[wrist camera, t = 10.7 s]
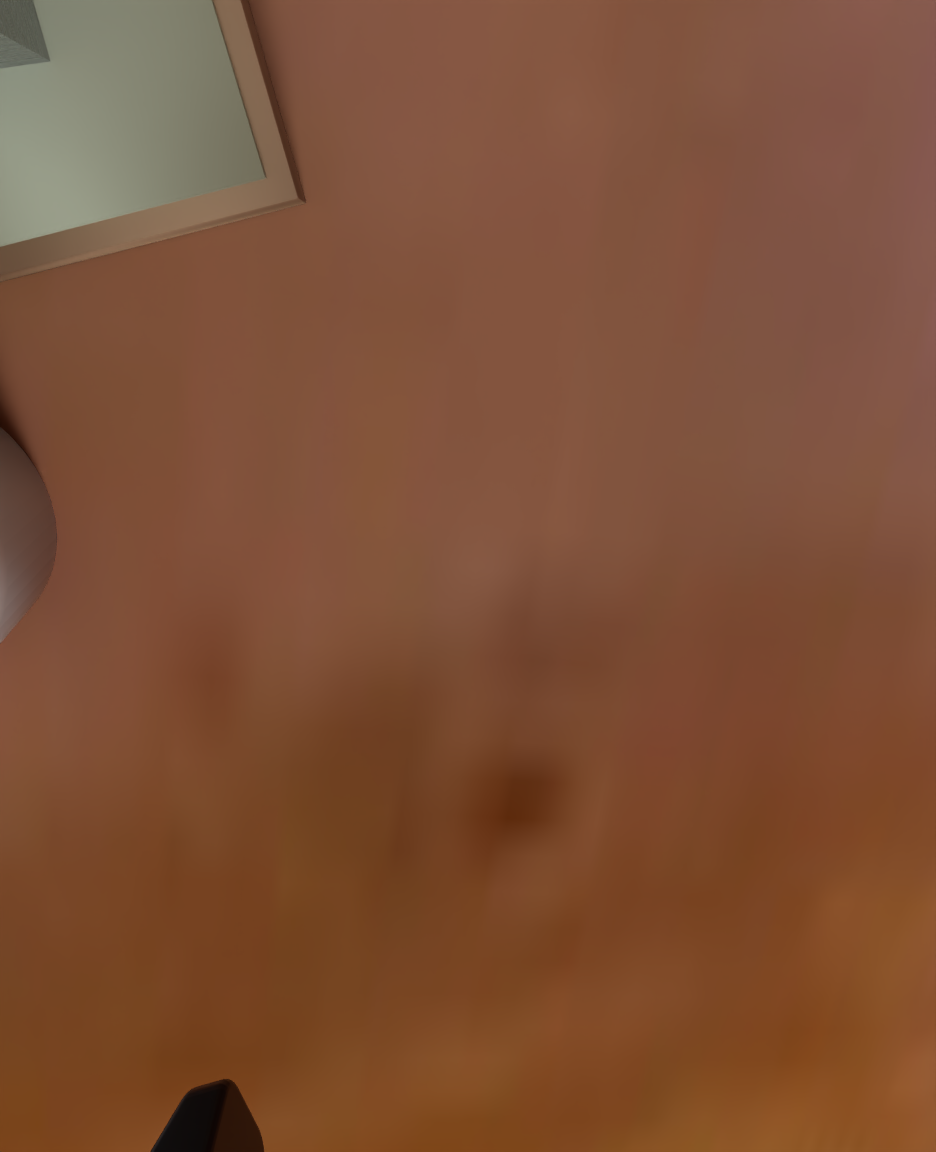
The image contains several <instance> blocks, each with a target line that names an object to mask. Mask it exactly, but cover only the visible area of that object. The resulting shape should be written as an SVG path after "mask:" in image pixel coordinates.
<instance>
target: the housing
mask: <svg viewBox="0 0 936 1152" xmlns="http://www.w3.org/2000/svg"><path fill="white" fill-rule="evenodd" d="M44 62H51V61H50V57H49V54H48V51H47V47H46V44H45V40H44V37H43V33H42V30H41V26H40V23H39V19H38V16H37V12H36V9H35V5H34V2H33V0H0V68H8V67H15V66H22V65H29V64H36V63H44Z"/></svg>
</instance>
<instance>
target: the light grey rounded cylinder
mask: <svg viewBox="0 0 936 1152" xmlns="http://www.w3.org/2000/svg"><path fill="white" fill-rule="evenodd" d="M56 546H57V531H56V520H55V515H54V511H53V507H52V502H51V500H50V497H49V495H48V492H47V489H46V487H45V484H44V482H43V481H42V479H41V477H40V475H39V473H38V471H37V469H36V468H35V466H34V465H33V463H32V462H31V460H30V459H29V458H28V456H27V455H26V453H25V452H24V451H23V450H22V448H21V447H20V446H19V445H18V444H17V443H16V442H15V441H14V440H13V438H12V437H11V436H10V435H9V434H8V433H6V432H5V431H4V430H3V429H2V428H1V427H0V643H1V642H2V641H3V640H4V639H5V637H6V636H7V635H8V634H9V633H10V632H11V630H12V629H13V628H14V627H15V626H16V625H17V623H18V622H19V621H20V620H21V619H22V618H23V616H24V615H25V614H26V613H27V612H28V611H29V609H30V608H31V607H32V606H33V604H34V603H35V602H36V601H37V600H38V598H39V597H40V595H41V593H42V592H43V590H44V588H45V586H46V585H47V583H48V580H49V577H50V575H51V572H52V570H53V565H54V561H55V556H56Z"/></svg>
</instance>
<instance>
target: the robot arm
mask: <svg viewBox="0 0 936 1152" xmlns="http://www.w3.org/2000/svg"><path fill="white" fill-rule="evenodd" d="M151 1152H264V1146H263V1141H262V1137H261V1133H260V1130H259V1128H258V1126H257V1124H256V1122H255V1120H254V1118H253V1116H252V1114H251V1112H250V1110H249V1108H248V1106H247V1105H246V1103H245V1101H244V1099H243V1097H242V1095H241V1093H240V1091H239V1089H238V1087H237V1086H236V1084H235V1083H234V1082H233V1081H231V1080H229V1079H223V1080H219V1081H216V1082H212V1083H208V1084H205V1085H201V1086H198V1087H195V1088H193V1089H191V1090H190V1091H189V1092H188V1093H187V1094H186V1095H185V1096H184V1097H183V1099H182V1100H181V1102H180V1103H179V1105H178V1107H177V1108H176V1110H175V1112H174V1113H173V1115H172V1117H171V1118H170V1120H169V1122H168V1123H167V1125H166V1127H165V1128H164V1130H163V1132H162V1133H161V1135H160V1137H159V1138H158V1140H157V1142H156V1143H155V1145H154V1147H153V1148H152V1150H151Z"/></svg>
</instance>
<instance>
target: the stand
mask: <svg viewBox="0 0 936 1152" xmlns="http://www.w3.org/2000/svg"><path fill="white" fill-rule="evenodd" d="M33 2H34V5H35V9H36V12H37V16H38V19H39V23H40V26H41V30H42V33H43V37H44V40H45V44H46V47H47V51H48V54H49V57H50V61H51V62H44V63H36V64H29V65H22V66H15V67H8V68H0V282H2V281H6V280H10V279H14V278H18V277H22V276H26V275H30V274H33V273H37V272H41V271H45V270H49V269H53V268H57V267H61V266H64V265H68V264H72V263H76V262H80V261H84V260H88V259H92V258H95V257H99V256H103V255H107V254H111V253H115V252H119V251H123V250H126V249H130V248H134V247H138V246H142V245H146V244H150V243H154V242H157V241H161V240H165V239H169V238H173V237H177V236H181V235H185V234H188V233H192V232H196V231H200V230H204V229H208V228H212V227H216V226H220V225H223V224H227V223H231V222H235V221H239V220H243V219H247V218H251V217H254V216H258V215H262V214H266V213H270V212H274V211H278V210H282V209H285V208H289V207H293V206H297V205H301V204H305V203H306V201H305V197H304V194H303V190H302V187H301V183H300V180H299V176H298V173H297V169H296V166H295V162H294V159H293V155H292V152H291V148H290V145H289V142H288V138H287V135H286V131H285V128H284V124H283V121H282V117H281V114H280V110H279V107H278V103H277V100H276V96H275V93H274V89H273V86H272V82H271V79H270V75H269V72H268V68H267V65H266V61H265V58H264V55H263V51H262V48H261V44H260V41H259V37H258V34H257V30H256V27H255V23H254V20H253V16H252V13H251V9H250V6H249V2H248V0H33Z"/></svg>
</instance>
